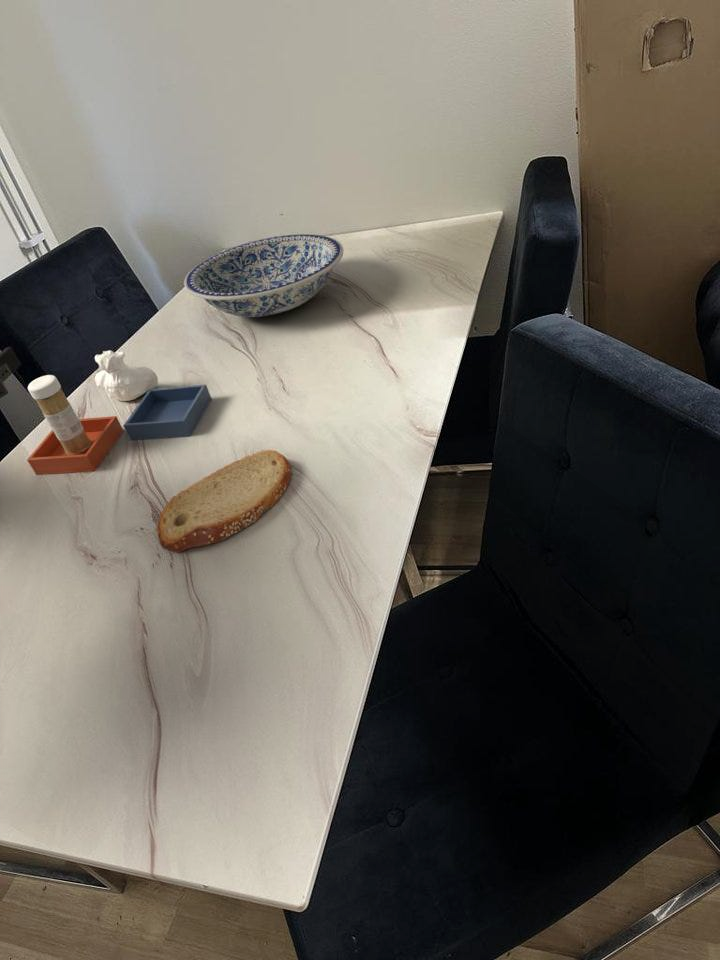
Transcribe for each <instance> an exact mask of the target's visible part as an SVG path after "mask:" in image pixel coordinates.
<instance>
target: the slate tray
mask: <svg viewBox="0 0 720 960" xmlns="http://www.w3.org/2000/svg"><path fill="white" fill-rule="evenodd" d="M211 401H212V396H211V394H210V391H209V389H208V386H207V384H197V385H196V384H195V385H184V386H176V387H175V386H173V387H162V388H153V389H149V390H148V391H146V392H145V395H144V396H143V397H142V399H141V400H140V401H139V403H138V404H137V406H136V407H135V408H134V410H133V411H132V413H131V414H130V416H129V417H128V418H127V420H126V421H125V423H123V426H122V427H123V429H124V430H125V432H126V434H127V436H128V438H129V440H130V441H139V440H140V441H142V440H154V439H155V440H156V439H168V438H169V439H170V438H171V439H172V438H182V437H184V438H185V437H191V436H192V434H193V432H194V431H195V429H196V428H197V425H198V424H199V422H200V421H201V419H202V417H203V416H204V413H205V412H206V410H207V408H208V406H209V405H210V403H211Z"/></svg>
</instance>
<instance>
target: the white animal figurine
mask: <svg viewBox="0 0 720 960" xmlns="http://www.w3.org/2000/svg"><path fill="white" fill-rule="evenodd" d="M125 357H126V355H125V352H124V351H122V350H121V351H120V350H118V351H116V352H114V351H113V350H103V351H102V353H101V354H96V355H95V356H94V361H95V363H97V364H98V368H100V369H101V371H99V372H97V373H96V374H95V377H94V381H95V383H96V387H98V388H100V389H101V390H102V391H104V392H105V393H106V394H108V397H109V398H112V399H116V400H118V401H120V402H130V401H133V400H137V398H139V397H141V396H143V395H144V394H146V393H147V392H148V390H149V389H156V388H157V386H158V384H159V379H158V376H157V374H156V372H155V371H154V370H153V369H151V368H150V367H148V366H145V365H139V366H136V365H135V366H131V365H128V364H126V363H125V361H124V358H125Z"/></svg>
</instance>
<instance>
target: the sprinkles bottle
mask: <svg viewBox="0 0 720 960" xmlns="http://www.w3.org/2000/svg"><path fill="white" fill-rule="evenodd" d="M27 390H28V392H29V394H30V395H31V397H32V399H34V401H35V402H36V403H37V405H38V407H39V409H40V411H41V412H42V415H43V417H44V418H45V420H46V422H47V423H48V425H49V426H50V428H51V431H52V430H53V432H54V433H55V435H56V437H57V438H58V439H59V441H60V443H61V444H62V446H63V448H64V449H65V452H66V454H67V455H80V454H82V453H84V452H86V451H87V450H88V449H89V448H90V447H91V445H92V442H91V440H90V439H89V438H88V436H87V434H86V433H85V431H84V429H83V426H82V424H81V422H80V421H79V419H80V418H79V416H78V415H77V413H76V411H75V410H74V408H73V406H72V404H71V402H70V401H69V400H68V399H67V397H66V395H65V393H64V391H63V390H62V386H61V384H60V382H59V380H58V378H57V377H56V376H55V375H53V374H46V375H42V376H40V377H37V378H35V379H34V380H32V381H31V382H30V383H28V386H27Z"/></svg>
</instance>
